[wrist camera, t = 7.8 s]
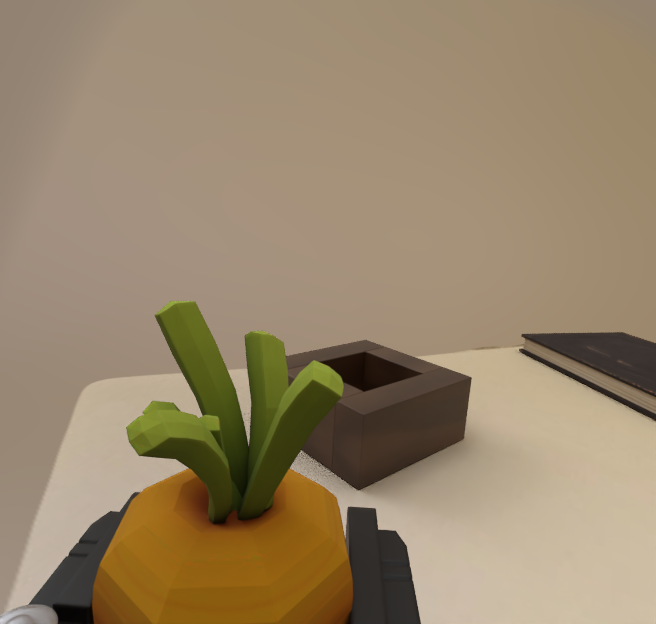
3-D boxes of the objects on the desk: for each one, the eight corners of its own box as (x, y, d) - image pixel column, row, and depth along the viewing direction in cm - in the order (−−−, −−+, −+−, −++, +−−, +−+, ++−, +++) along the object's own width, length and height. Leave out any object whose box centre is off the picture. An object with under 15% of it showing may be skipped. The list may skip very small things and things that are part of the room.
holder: (260, 420, 37) (261, 360, 35) (361, 390, 44) (365, 339, 43) (358, 490, 28) (364, 414, 27) (463, 438, 35) (471, 377, 34)
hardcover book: (696, 441, 37) (703, 414, 36) (519, 351, 59) (521, 333, 58) (839, 428, 41) (847, 404, 40) (622, 348, 62) (626, 332, 62)
